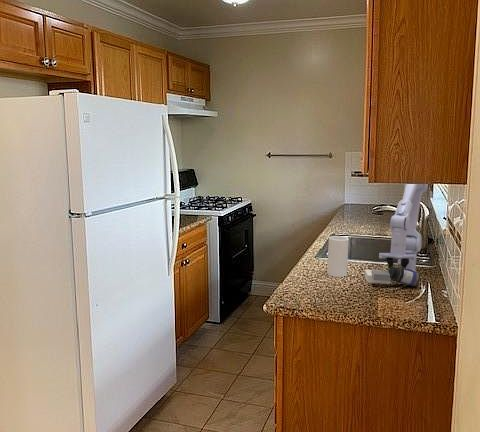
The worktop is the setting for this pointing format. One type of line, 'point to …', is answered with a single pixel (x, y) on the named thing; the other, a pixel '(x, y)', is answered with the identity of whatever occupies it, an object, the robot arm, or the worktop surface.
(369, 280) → the socket
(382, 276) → the grey square block
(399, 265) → the plug
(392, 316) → the worktop surface
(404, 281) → the pill bottle
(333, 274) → the cup
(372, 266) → the worktop surface
